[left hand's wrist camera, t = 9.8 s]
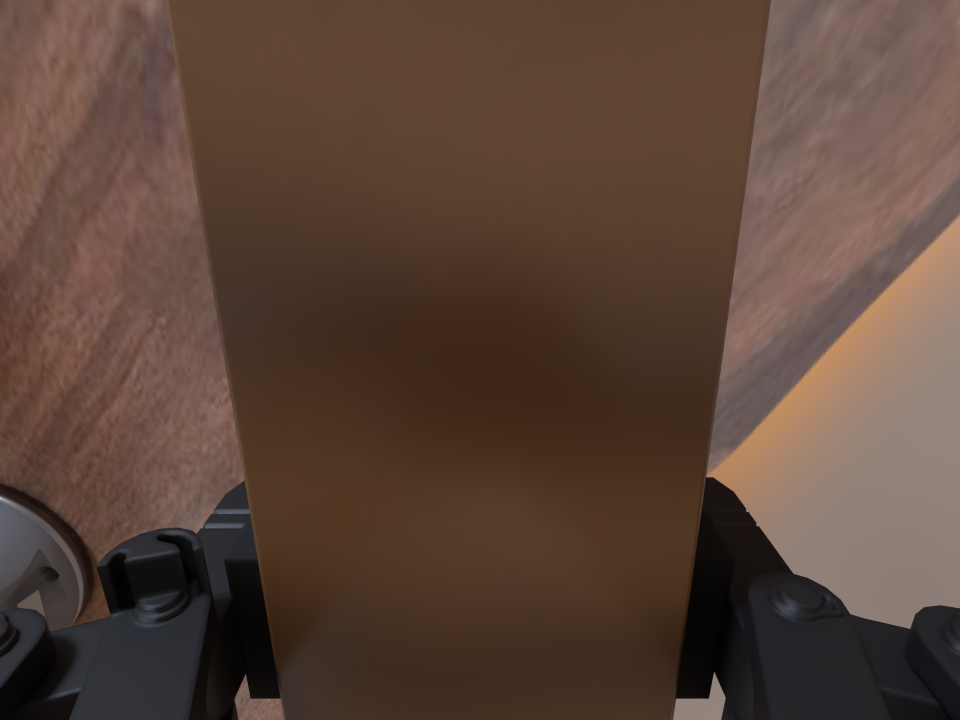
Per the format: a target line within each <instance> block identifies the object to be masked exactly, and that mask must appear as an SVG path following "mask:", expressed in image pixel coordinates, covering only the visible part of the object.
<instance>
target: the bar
mask: <svg viewBox="0 0 960 720" xmlns="http://www.w3.org/2000/svg"><path fill="white" fill-rule="evenodd" d="M165 3H166V9H167V15H168V21H169V27H170V33H171V39H172V45H173V51H174V57H175V63H176V69H177V75H178V81H179V87H180V93H181V99H182V105H183V111H184V118H185V124H186V130H187V136H188V142H189V148H190V154H191V160H192V166H193V172H194V178H195V184H196V190H197V196H198V202H199V208H200V214H201V220H202V226H203V232H204V238H205V244H206V250H207V256H208V262H209V268H210V274H211V280H212V286H213V292H214V299H215V305H216V311H217V317H218V323H219V329H220V335H221V341H222V347H223V353H224V359H225V365H226V371H227V377H228V383H229V389H230V395H231V401H232V407H233V413H234V419H235V425H236V431H237V437H238V443H239V449H240V455H241V461H242V467H243V473H244V480H245V486H246V492H247V498H248V504H249V510H250V516H251V522H252V528H253V534H254V540H255V546H256V552H257V558H258V564H259V570H260V576H261V582H262V588H263V594H264V600H265V606H266V612H267V618H268V624H269V630H270V636H271V642H272V648H273V655H274V661H275V667H276V673H277V679H278V685H279V691H280V697H281V703H282V709H283V715H284V720H673V716H674V709H675V701H676V694H677V687H678V680H679V672H680V665H681V657H682V650H683V643H684V635H685V628H686V621H687V613H688V606H689V599H690V591H691V584H692V577H693V569H694V562H695V555H696V547H697V540H698V533H699V525H700V518H701V510H702V503H703V496H704V488H705V481H706V474H707V466H708V459H709V452H710V444H711V437H712V430H713V422H714V415H715V408H716V400H717V393H718V386H719V378H720V371H721V363H722V356H723V349H724V341H725V334H726V327H727V319H728V312H729V305H730V297H731V290H732V283H733V275H734V268H735V261H736V253H737V246H738V239H739V231H740V224H741V216H742V209H743V202H744V194H745V187H746V180H747V172H748V165H749V158H750V150H751V143H752V136H753V128H754V121H755V114H756V106H757V99H758V92H759V84H760V77H761V70H762V62H763V55H764V47H765V40H766V33H767V25H768V18H769V11H770V3H771V0H165Z"/></svg>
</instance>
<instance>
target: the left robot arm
mask: <svg viewBox="0 0 960 720" xmlns="http://www.w3.org/2000/svg"><path fill="white" fill-rule="evenodd" d="M97 570H98V573H99V576H100V580H101V583H102V587H103V590H104V594H105V597H106V600H107V604H108V607H109V611H110V616H109V617H107V618H104V619H100V620H97V621H93V622H89V623H84V624H80V625H76V626H72V625H73V624H74V623H75V622H76V620H77V619H78V618H79V617H80V616H81V614H82V613H83V612H84V610H85V609H86V607H87V605H88V603H89V600H90V597H91V592H92V583H93V580H92V571H91V566H90V563H89V559H88V557H87V554H86V552H85V550H84V548H83V546H82V544H81V543H80V541H79V540H78V538H77V537H76V535H75V534H74V533H73V531H72V530H71V529H70V528H69V527H68V525H67V524H66V523H65V522H64V521H63V520H62V519H61V518H59V517H58V516H57V515H56V514H55V513H54V512H53V511H51V510H50V509H49V508H47V507H46V506H45V505H43V504H42V503H40V502H38V501H37V500H35V499H34V498H32V497H30V496H28V495H26V494H24V493H22V492H20V491H18V490H16V489H13V488H11V487H8V486H5V485H3V484H0V720H238V716H237V709H236V704H235V697H236V694H237V692H238V690H239V688H240V685H241V683H242V681H243V678H244V676H245V674H246V677H247V682H248V687H249V692H250V697H251V699H281V697H280V691H279V685H278V679H277V673H276V667H275V661H274V655H273V648H272V642H271V636H270V630H269V624H268V618H267V612H266V606H265V600H264V594H263V588H262V582H261V576H260V570H259V564H258V558H257V552H256V546H255V540H254V534H253V528H252V522H251V516H250V510H249V504H248V498H247V492H246V486H245V481H243V482H242V483H241V484H239V485H238V486H236V487H235V488H234V489H232V490H231V491H229V492H228V493H226V495H225V496H224V497H223V499H222V500H221V501H220V503H219V504H218V506H217V507H216V508H215V510H214V514H211V515H210V517H209V518H208V519H207V521H206V522H205V524H204V527H203V528H201V529H200V530H199V532H198V533H197V534H196V533H195V532H193V531H191V530H187V529H182V528H165V529H158V530H154V531H150V532H146V533H142V534H140V535H137V536H135V537H133V538H131V539H129V540H127V541H124V542H122V543H121V544H119V545H118V546H117V547H115V548H114V549H113V550H111V551H110V552H109V553H107V554H106V555H105V556H104V558H103V559H102V560H101V562H100V563H99V564H98V566H97ZM714 672H715V674H716V677H717V679H718V681H719V683H720V686H721V688H722V690H723V692H724V694H725V697H726V699H725V704H724V709H723V714H722V719H721V720H960V608H953V607H947V606H941V605H939V606H931V607H924V608H923V609H922V610H920V611H919V612H918V613H916V614H915V617H914V620H913V623H912V626H911V628H910V629H908V628H903V627H899V626H895V625H890V624H886V623H882V622H877V621H873V620H868V619H864V618H861V617H858V616H854V615H851V614H850V613H849V612H848V610H847V609H846V607H845V606H844V604H843V602H842V601H841V600H840V599H839V598H838V597H837V596H836V595H834V594H833V593H832V592H831V591H830V590H828V589H827V588H826V587H824V586H822V585H820V584H818V583H816V582H814V581H812V580H811V579H809V578H806V577H802V576H799V575H796V574H793V572H792V571H791V570H790V568H789V567H788V566H787V564H786V563H785V562H784V560H783V559H782V557H781V556H780V555H779V553H778V552H777V551H776V549H775V548H774V546H773V545H772V544H771V542H770V541H769V540H768V538H767V537H766V535H765V534H764V533H763V531H762V530H761V529H760V527H759V526H756V522H755V520H754V519H753V518H752V516H751V515H750V513H749V512H746V508H745V507H744V505H743V504H742V502H741V501H740V500H739V498H738V497H737V496H736V494H735V493H734V492H733V491H732V490H730V489H729V488H727V487H726V486H725V485H723V484H722V483H720V482H719V481H717V480H716V479H715V478H713V477H706V481H705V488H704V496H703V503H702V510H701V518H700V525H699V533H698V540H697V547H696V555H695V562H694V569H693V577H692V584H691V591H690V599H689V606H688V613H687V621H686V628H685V635H684V643H683V650H682V657H681V665H680V672H679V680H678V687H677V694H676V699H677V698H678V699H697V698H698V699H699V698H701V699H703V698H704V699H707V698H709V695H710V690H711V685H712V679H713V674H714Z"/></svg>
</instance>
